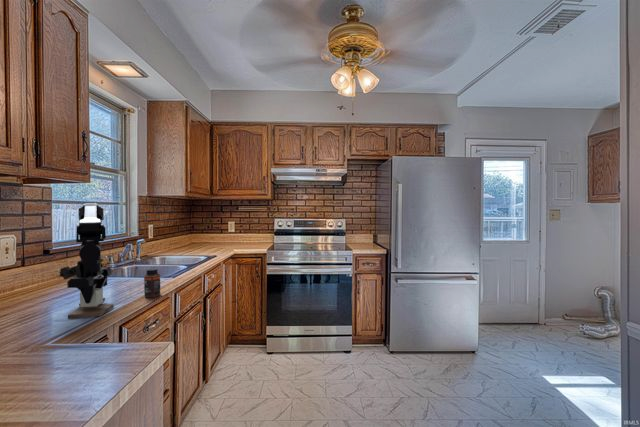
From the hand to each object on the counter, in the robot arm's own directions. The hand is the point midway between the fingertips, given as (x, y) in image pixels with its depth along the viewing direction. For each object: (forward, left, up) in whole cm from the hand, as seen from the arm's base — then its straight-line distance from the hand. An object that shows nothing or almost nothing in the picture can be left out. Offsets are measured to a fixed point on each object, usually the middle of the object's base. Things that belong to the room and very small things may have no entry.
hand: (91, 300), depth 113 cm
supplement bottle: (-17, +15, -4) cm, 23 cm away
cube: (0, 0, -1) cm, 1 cm away
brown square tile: (0, 0, -4) cm, 4 cm away
